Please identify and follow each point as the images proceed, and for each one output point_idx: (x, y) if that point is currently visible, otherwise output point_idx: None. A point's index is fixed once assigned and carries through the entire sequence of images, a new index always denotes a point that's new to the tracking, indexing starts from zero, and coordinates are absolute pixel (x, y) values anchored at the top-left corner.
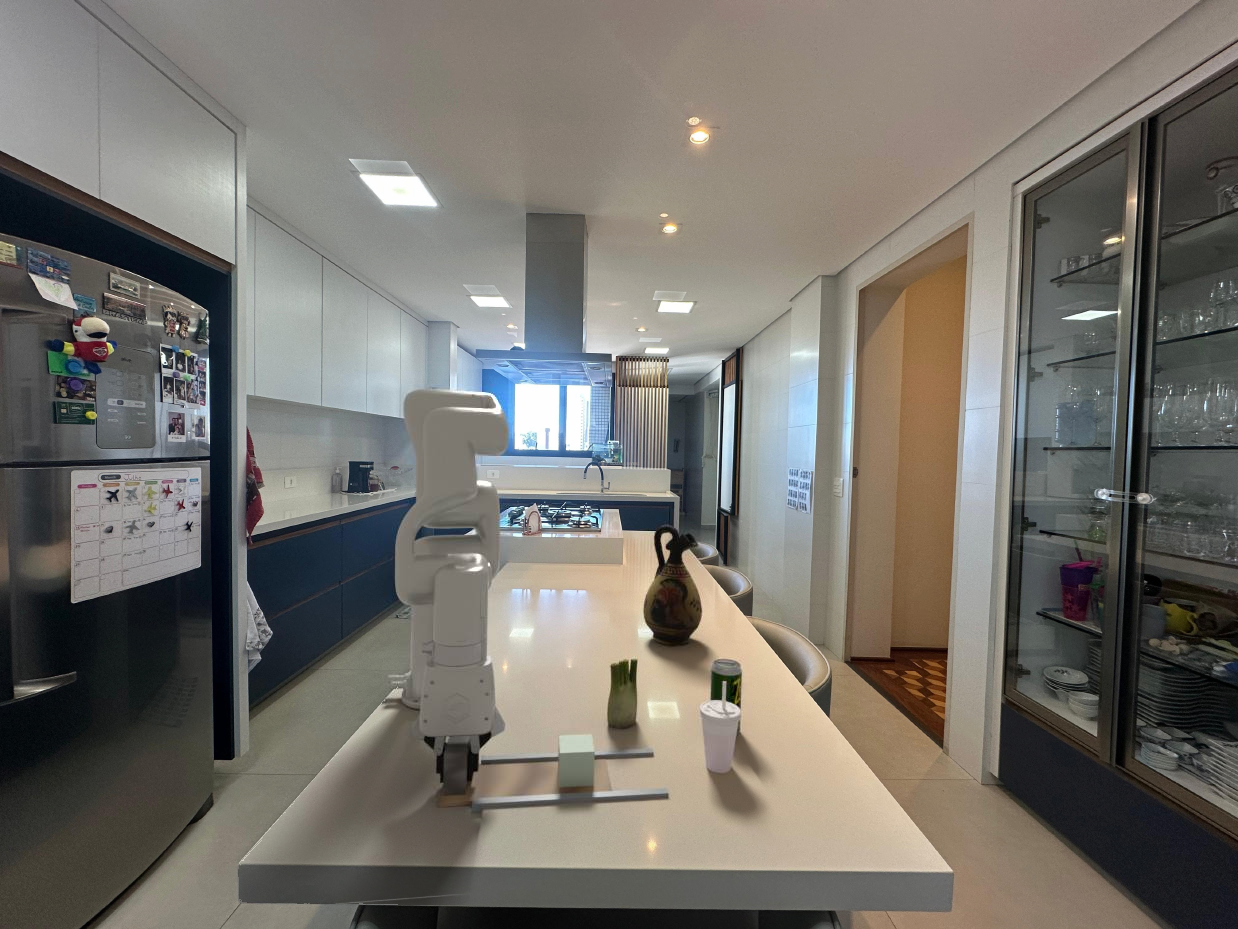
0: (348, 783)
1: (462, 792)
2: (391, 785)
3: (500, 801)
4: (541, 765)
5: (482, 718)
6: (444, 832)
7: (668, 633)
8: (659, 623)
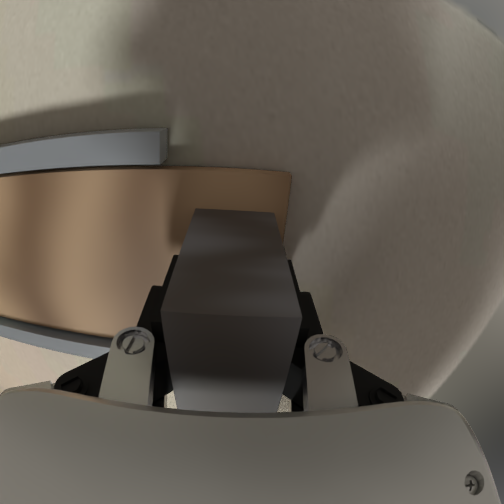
0: (470, 306)
1: (204, 212)
2: (405, 296)
3: (68, 141)
4: (27, 310)
5: (3, 483)
6: (253, 41)
7: None
8: None
